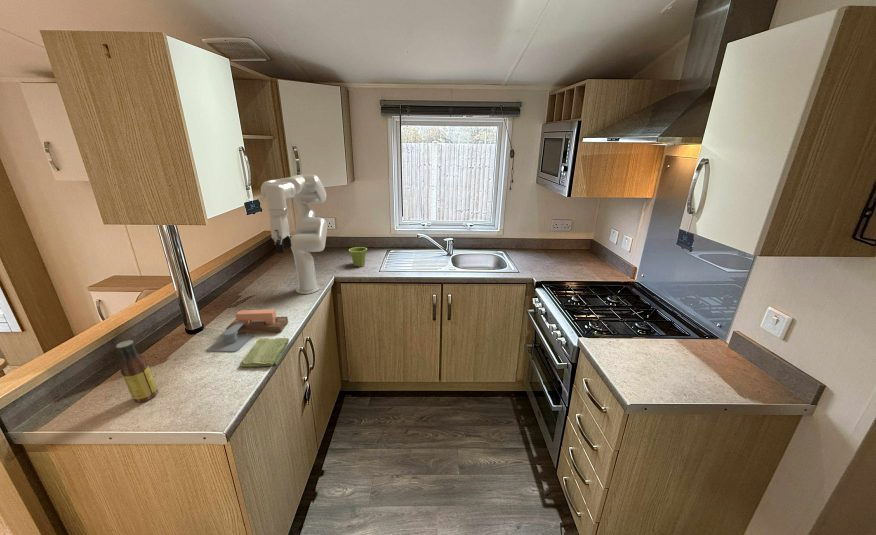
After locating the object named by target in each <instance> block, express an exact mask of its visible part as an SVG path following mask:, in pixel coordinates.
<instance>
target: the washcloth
mask: <svg viewBox="0 0 876 535" xmlns="http://www.w3.org/2000/svg"><path fill="white" fill-rule="evenodd" d="M289 342H290V339H289V337H276V338H269V337H265V338H264V337H263V338H258V339H257V340H256V343H255V344H254V345H253V346H252V347H251V348H250V350H249V351H248V353H247V354H246V355H245V356H244V357H243V358H242V360H241V362H239V363H240V364H239V368H250V367H251V368H252V367H255V368H257V367H266V366H268V367H269V366H271V367H272V366H276V365H278V363H279V362H280V360H281V358H282V356H283V354H284V352H285V351H286V349H287V347H288V344H289Z"/></svg>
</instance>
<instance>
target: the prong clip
mask: <svg viewBox="0 0 876 535" xmlns="http://www.w3.org/2000/svg"><path fill="white" fill-rule="evenodd" d="M275 317H277V313H276V309H275V308H274V309H273V308H272V309H249V310H248V309H246V310H244V309H243V310H238V312H236V313H235V319H237V321H239V322H245V323H244V324H243V325H248V324H249V323H250V320H265V322H266V324H274V323H275V322H276V319H275Z"/></svg>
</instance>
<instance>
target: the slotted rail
mask: <svg viewBox="0 0 876 535" xmlns="http://www.w3.org/2000/svg"><path fill="white" fill-rule="evenodd" d="M275 319H276V322H275V323H274V324H266V322H265V320H250V323H249V324H248V325H242V326H241V327H240V328H239V329H238V333H237V334H246V333H257V334H277V333H278V334H279V333H282V332H283V330H284V329H285V328H286V326H287V325H288V324H289V319H288V316H275ZM238 322H239V321H237V319H236V318H235V319H234V320H233V321H232V322H231V323H229V325H228V326H226V328H225V331H226V330H227V329H229V328H230V327H232V326H233V325H235V324H236V323H238Z"/></svg>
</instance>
